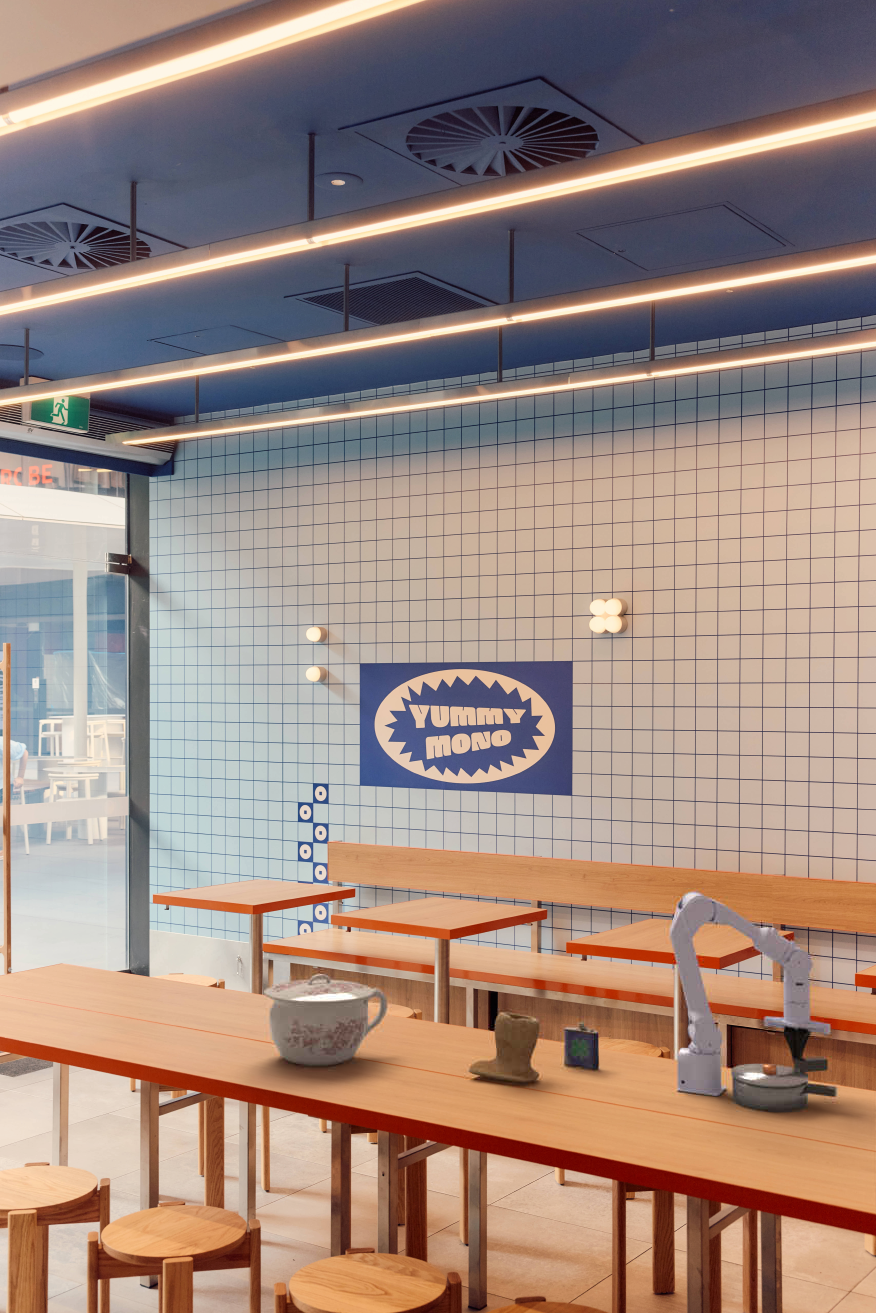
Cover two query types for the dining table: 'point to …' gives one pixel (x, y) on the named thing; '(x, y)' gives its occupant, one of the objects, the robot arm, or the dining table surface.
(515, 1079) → the brown boot
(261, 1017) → the dining table surface
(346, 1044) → the chamber pot
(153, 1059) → the dining table surface
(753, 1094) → the cooker pot
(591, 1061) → the flask
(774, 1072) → the cooker lid
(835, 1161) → the dining table surface
